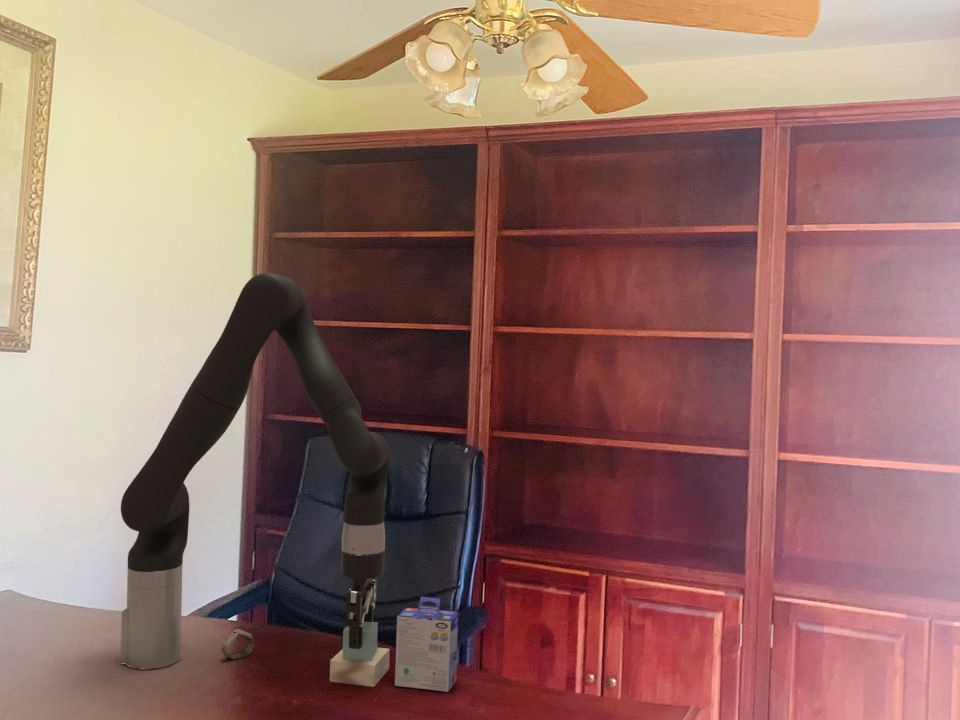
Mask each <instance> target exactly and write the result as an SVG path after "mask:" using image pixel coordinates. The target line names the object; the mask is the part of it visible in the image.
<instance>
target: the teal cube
mask: <svg viewBox="0 0 960 720" xmlns="http://www.w3.org/2000/svg"><path fill="white" fill-rule="evenodd" d="M378 624H379V622H374V621H373V622H364V625H363V640H362V647H361V648H360V649H351V648H349V627H347V626H345V628H344V629H343V630H342V649H343V659H344V660H362V661H371V660H372V659H373V657H374V655H375V653H376V651H377V648H378V631H379V630H378V629H379V628H378V627H379V625H378Z"/></svg>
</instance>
